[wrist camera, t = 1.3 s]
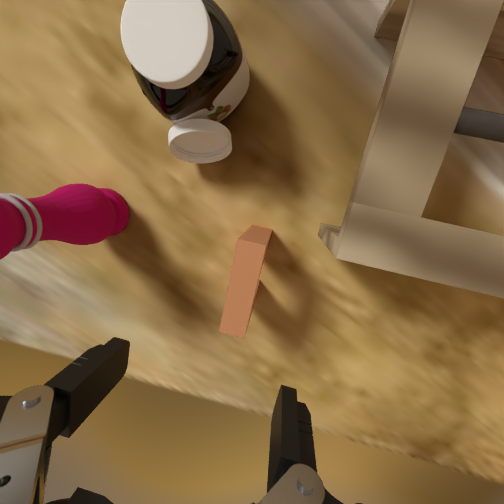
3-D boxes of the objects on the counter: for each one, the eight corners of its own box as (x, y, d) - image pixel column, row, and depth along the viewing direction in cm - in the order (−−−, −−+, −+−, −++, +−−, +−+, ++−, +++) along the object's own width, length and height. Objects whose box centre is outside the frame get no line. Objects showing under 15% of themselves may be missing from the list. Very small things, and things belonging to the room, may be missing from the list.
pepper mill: (143, 211, 34) (-41, 235, 15) (113, 248, 36) (-85, 312, 17) (102, 173, 34) (-142, 146, 14) (74, 212, 36) (-176, 236, 16)
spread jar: (225, 30, 28) (186, -77, 17) (279, 121, 30) (276, 77, 18) (146, 100, 31) (67, 47, 20) (199, 180, 32) (153, 173, 21)
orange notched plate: (252, 225, 33) (238, 238, 23) (272, 229, 33) (266, 245, 23) (237, 292, 35) (218, 331, 25) (255, 297, 35) (244, 338, 25)
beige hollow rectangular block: (379, 19, 26) (452, -117, 15) (564, 50, 25) (805, -72, 13) (317, 234, 32) (336, 258, 20) (465, 269, 31) (575, 315, 19)
